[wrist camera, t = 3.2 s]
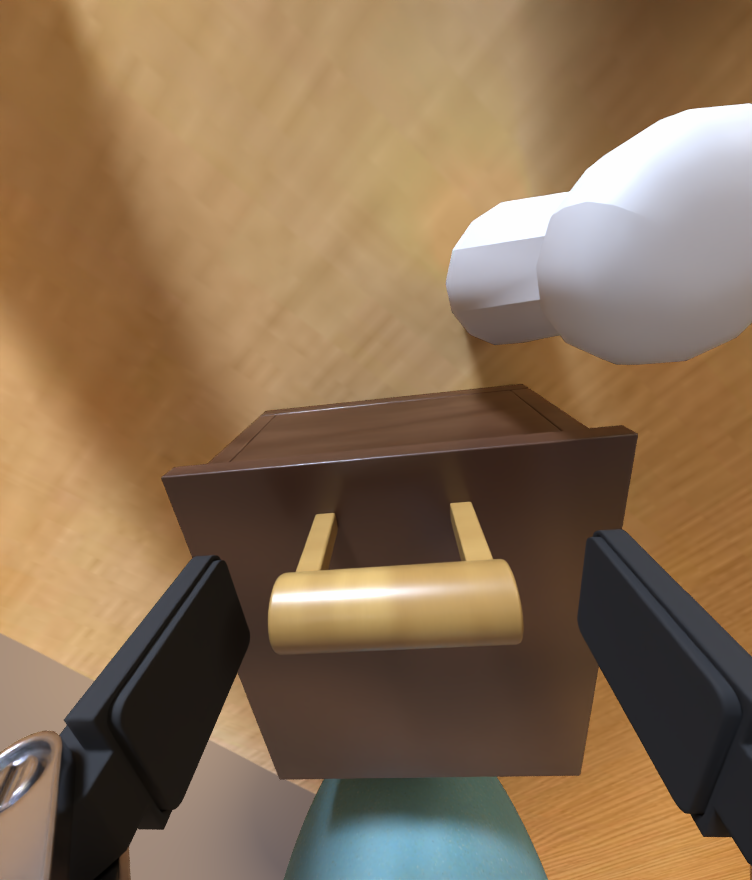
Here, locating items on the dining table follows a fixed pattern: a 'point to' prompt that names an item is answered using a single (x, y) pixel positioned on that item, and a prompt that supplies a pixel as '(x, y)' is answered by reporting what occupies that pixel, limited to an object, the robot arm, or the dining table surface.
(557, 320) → the salt shaker
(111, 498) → the dining table surface
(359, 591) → the chest lid
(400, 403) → the chest
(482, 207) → the dining table surface
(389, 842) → the green bowl
